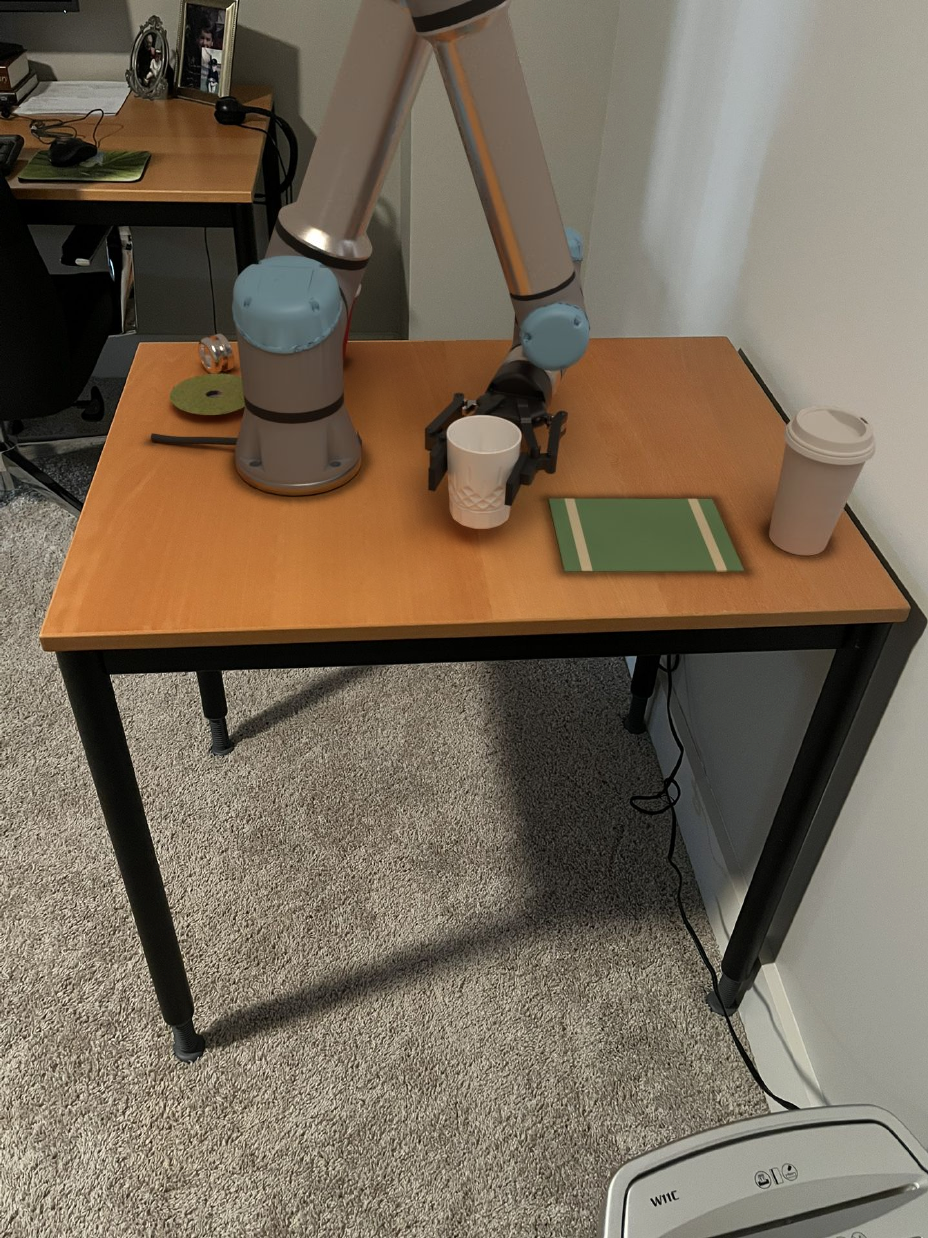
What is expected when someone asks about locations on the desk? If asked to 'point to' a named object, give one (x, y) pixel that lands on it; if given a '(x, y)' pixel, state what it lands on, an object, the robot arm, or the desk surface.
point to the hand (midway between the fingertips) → (470, 487)
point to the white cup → (480, 469)
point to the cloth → (642, 536)
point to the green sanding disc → (209, 394)
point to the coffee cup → (818, 476)
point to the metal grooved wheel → (216, 353)
